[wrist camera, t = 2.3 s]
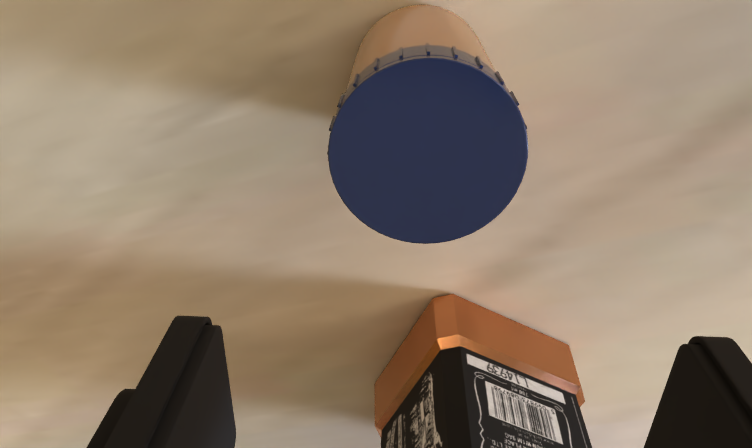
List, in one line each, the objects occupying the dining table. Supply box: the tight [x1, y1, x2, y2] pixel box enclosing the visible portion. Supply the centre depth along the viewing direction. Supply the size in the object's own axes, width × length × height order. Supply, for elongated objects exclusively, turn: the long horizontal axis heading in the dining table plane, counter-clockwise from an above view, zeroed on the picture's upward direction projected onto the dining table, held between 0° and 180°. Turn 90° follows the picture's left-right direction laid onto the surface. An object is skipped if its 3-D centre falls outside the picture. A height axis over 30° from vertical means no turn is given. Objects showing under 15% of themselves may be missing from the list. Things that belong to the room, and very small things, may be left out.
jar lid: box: [327, 43, 528, 244], centre depth 21 cm, size 7×7×2 cm
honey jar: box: [346, 5, 496, 90], centre depth 25 cm, size 7×7×11 cm
